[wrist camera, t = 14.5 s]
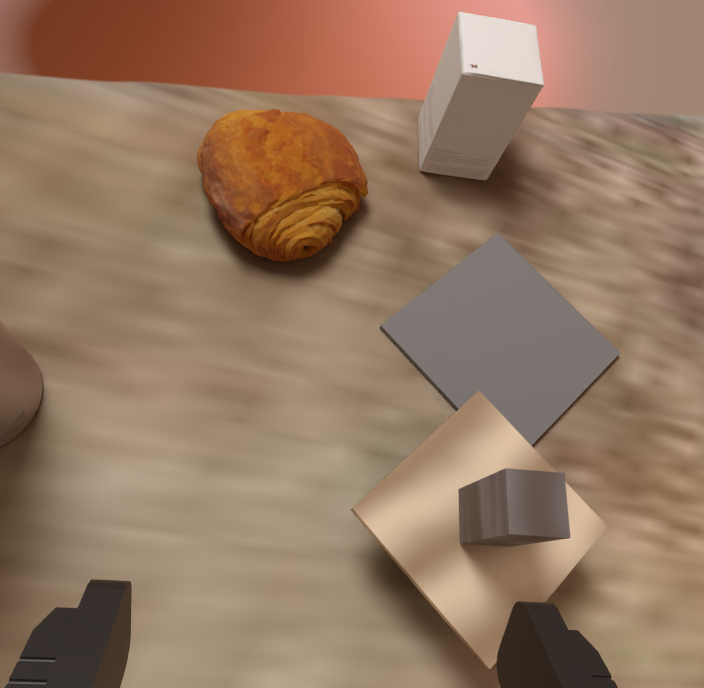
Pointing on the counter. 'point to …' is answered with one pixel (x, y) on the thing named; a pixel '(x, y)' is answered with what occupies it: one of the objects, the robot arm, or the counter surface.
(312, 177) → the croissant
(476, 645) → the lid
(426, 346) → the mat
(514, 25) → the supplement box
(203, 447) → the counter surface
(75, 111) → the counter surface
